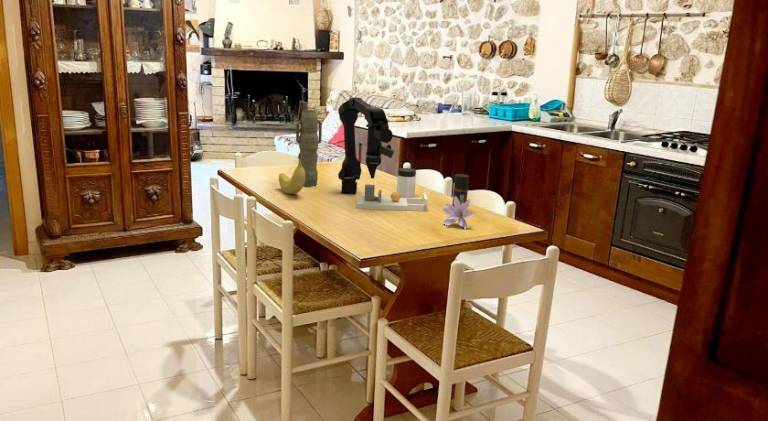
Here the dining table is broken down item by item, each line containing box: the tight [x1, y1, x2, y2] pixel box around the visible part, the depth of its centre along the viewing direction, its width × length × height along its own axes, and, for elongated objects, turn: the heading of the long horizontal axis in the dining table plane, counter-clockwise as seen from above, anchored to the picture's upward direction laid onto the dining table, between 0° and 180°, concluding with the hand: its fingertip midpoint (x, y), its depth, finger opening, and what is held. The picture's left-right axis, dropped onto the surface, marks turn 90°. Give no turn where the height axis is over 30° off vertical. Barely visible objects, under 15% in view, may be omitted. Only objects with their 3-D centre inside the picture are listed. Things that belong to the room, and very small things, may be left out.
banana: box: [278, 152, 305, 195], centre depth 270 cm, size 23×6×20 cm, turn 32°
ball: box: [390, 191, 401, 201], centre depth 260 cm, size 4×4×4 cm
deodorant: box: [451, 173, 470, 207], centre depth 257 cm, size 6×6×15 cm
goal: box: [407, 192, 429, 212], centre depth 261 cm, size 8×12×5 cm
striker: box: [364, 184, 382, 202], centre depth 260 cm, size 7×7×6 cm
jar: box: [396, 167, 417, 198], centre depth 279 cm, size 9×8×12 cm
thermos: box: [295, 109, 323, 188], centre depth 286 cm, size 9×12×35 cm
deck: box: [356, 195, 408, 212], centre depth 261 cm, size 21×14×2 cm, turn 90°
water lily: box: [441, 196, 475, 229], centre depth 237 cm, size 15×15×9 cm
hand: (372, 176), depth 259 cm, fingers open, 9 cm apart
